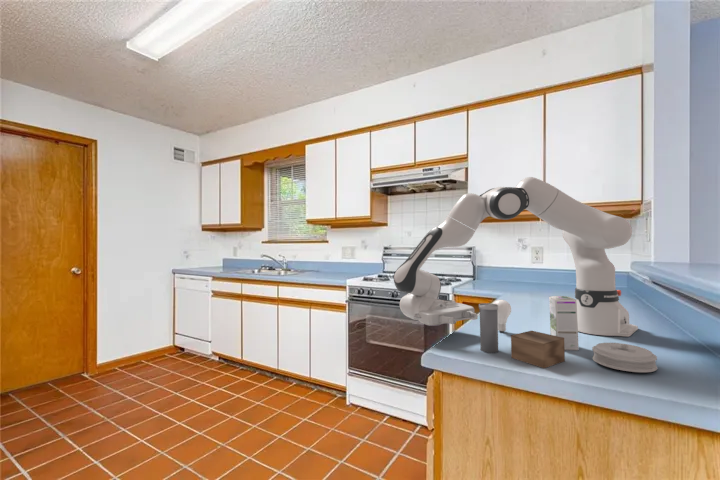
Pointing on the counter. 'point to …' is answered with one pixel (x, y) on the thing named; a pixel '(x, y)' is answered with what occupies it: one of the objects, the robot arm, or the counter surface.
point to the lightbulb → (503, 314)
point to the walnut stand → (537, 348)
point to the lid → (624, 357)
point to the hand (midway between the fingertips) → (465, 319)
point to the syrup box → (564, 320)
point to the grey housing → (488, 327)
